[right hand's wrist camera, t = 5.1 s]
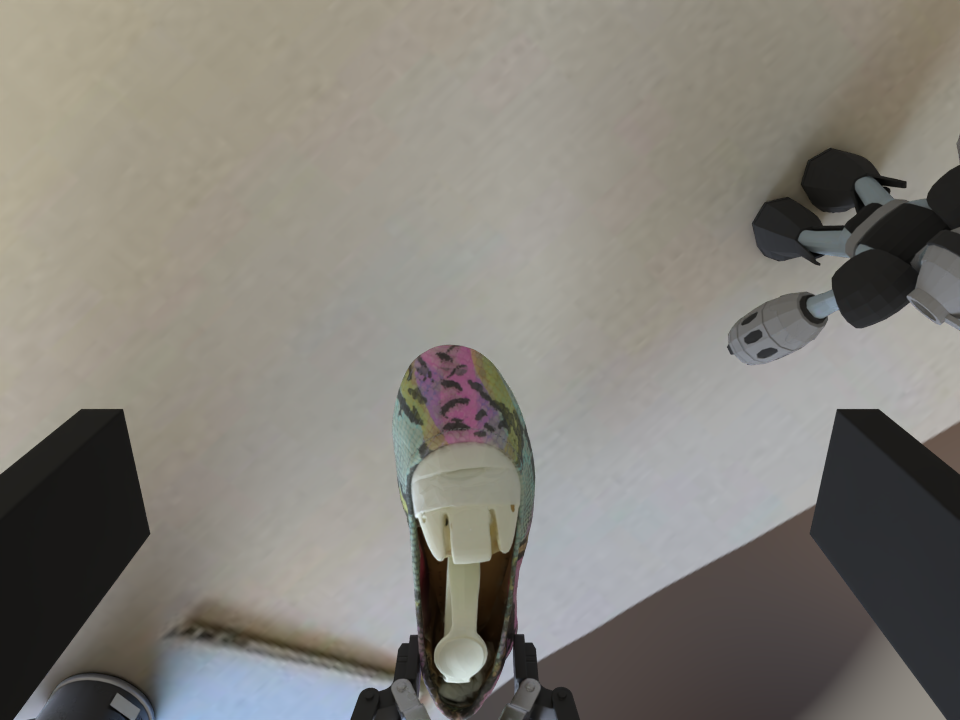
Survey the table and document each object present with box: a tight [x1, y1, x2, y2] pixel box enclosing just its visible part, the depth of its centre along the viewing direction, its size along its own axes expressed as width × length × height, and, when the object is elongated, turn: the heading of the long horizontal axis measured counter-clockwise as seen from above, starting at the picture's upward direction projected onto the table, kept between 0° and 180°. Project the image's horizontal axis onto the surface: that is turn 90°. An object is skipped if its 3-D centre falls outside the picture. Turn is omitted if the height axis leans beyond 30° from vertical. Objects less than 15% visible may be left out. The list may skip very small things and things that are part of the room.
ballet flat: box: [392, 345, 535, 720], centre depth 40 cm, size 8×24×9 cm, turn 1°
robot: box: [727, 135, 960, 365], centre depth 35 cm, size 20×5×20 cm, turn 139°
